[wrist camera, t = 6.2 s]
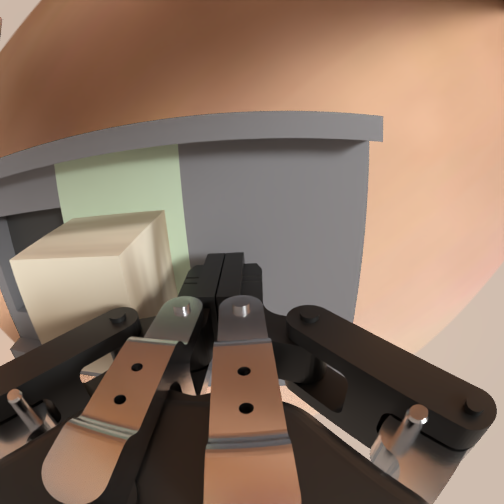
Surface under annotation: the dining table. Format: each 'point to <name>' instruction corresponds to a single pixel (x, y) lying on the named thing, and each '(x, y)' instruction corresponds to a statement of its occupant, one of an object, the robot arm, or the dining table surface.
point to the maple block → (96, 272)
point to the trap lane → (209, 198)
